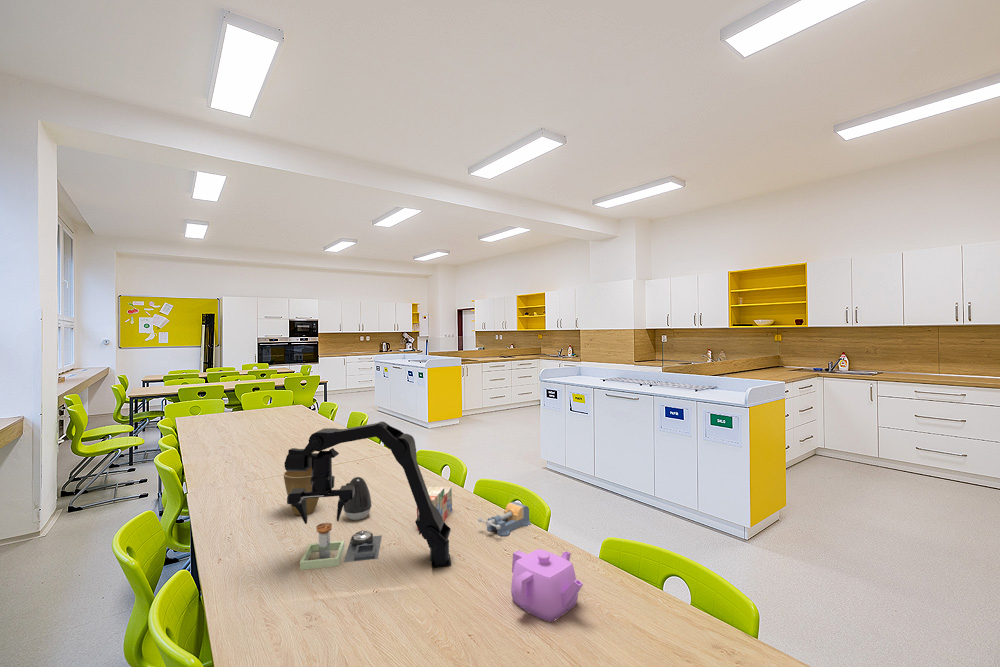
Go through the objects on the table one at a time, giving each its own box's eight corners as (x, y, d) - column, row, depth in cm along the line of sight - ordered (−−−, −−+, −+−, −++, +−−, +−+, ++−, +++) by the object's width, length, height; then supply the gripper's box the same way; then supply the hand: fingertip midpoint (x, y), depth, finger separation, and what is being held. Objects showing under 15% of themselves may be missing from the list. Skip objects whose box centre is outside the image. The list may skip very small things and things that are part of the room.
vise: (512, 516, 168) (512, 498, 168) (533, 524, 161) (533, 506, 161) (477, 532, 155) (477, 513, 155) (498, 541, 148) (498, 521, 148)
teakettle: (510, 584, 122) (509, 539, 122) (572, 583, 122) (571, 538, 122) (512, 625, 105) (512, 573, 105) (584, 623, 105) (583, 571, 105)
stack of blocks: (437, 509, 175) (436, 478, 175) (452, 510, 174) (452, 479, 174) (416, 533, 154) (416, 498, 154) (434, 535, 153) (433, 499, 153)
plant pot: (290, 523, 164) (289, 479, 164) (279, 511, 176) (279, 470, 176) (330, 512, 174) (330, 471, 174) (318, 501, 185) (318, 463, 185)
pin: (330, 561, 135) (330, 528, 135) (315, 563, 134) (314, 529, 134) (333, 554, 139) (333, 522, 139) (318, 556, 138) (318, 523, 138)
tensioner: (377, 561, 135) (377, 547, 135) (343, 565, 133) (343, 550, 133) (381, 538, 151) (381, 525, 151) (351, 541, 149) (351, 528, 149)
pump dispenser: (337, 520, 167) (336, 479, 167) (357, 510, 176) (357, 471, 176) (357, 525, 162) (356, 483, 162) (377, 514, 171) (376, 475, 171)
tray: (338, 569, 131) (338, 558, 131) (300, 573, 130) (299, 562, 130) (344, 550, 143) (344, 540, 143) (309, 553, 141) (309, 544, 141)
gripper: (357, 461, 146) (357, 509, 146) (296, 465, 142) (296, 514, 142) (352, 472, 135) (352, 523, 135) (286, 476, 131) (286, 529, 131)
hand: (322, 522), depth 136 cm, fingers open, 9 cm apart
